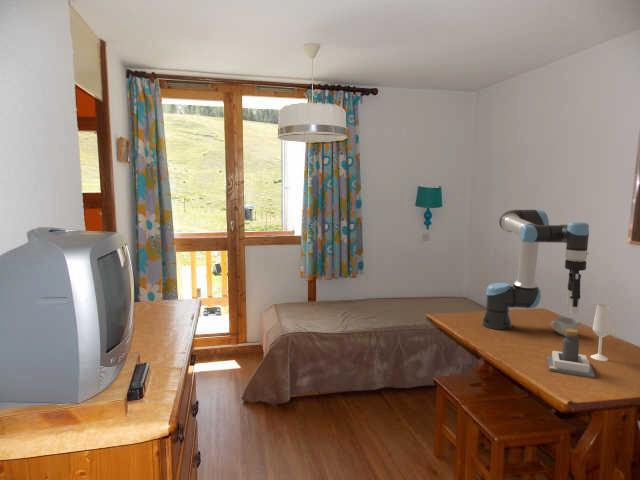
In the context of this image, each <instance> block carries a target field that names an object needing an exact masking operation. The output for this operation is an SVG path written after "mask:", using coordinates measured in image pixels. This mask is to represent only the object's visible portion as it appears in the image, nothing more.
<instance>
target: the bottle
mask: <svg viewBox="0 0 640 480" xmlns="http://www.w3.org/2000/svg"><path fill="white" fill-rule="evenodd" d="M565 330H566V333H565V336H564V338H563V340H562V351H561V352H562V360H563V361H570V362H577V363H578V354H579V352H580V341H579V336H580V335H578V334H579V329H578V330H575V329H565Z"/></svg>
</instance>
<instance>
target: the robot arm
mask: <svg viewBox="0 0 640 480" xmlns="http://www.w3.org/2000/svg"><path fill="white" fill-rule="evenodd" d="M498 222H499V223H498V224H499V226H500V228H501V229H502V230H503V231H505V232H507V233H514V234H515V235H517V236H519V238H520V246H519V257H518V258H519V259H518V266H517V275H516V277H517V278H516V280H514V282H513V286H512V285H510V284H509V283H507V282H496V283H495V282H494V283H491V284H488V286H487V287H486V300H485V301H486V303H485V304H486V305H485V312H484V315H483V316H482V319H481V324H482V326H484V327H486V328H488V329H493V330H494V329H495V330H509V329H512V320H511V316H510V313H509V311H510V309H511V308H514V309H516V308H517V309H534V308H536V307H537V306H538V305H539V304H540V302H541V298H542V297H541V296H542V294H541V288H540V287H538V284H537V283H536V282H535V281H536V271H537V262H538V256H539V255H538V254H539V247H540V246H539V244H540V243H557V244H558V243H561V244H566V246H565V257H564V258H565V261H564V269H566V270H568V271H569V272H568V282H567V299H566V306H569V307H570V311H569V314H570V315H576V316H578V315H579V309H580V299H581V278H582V275H581V273H580V271H586V269H587V257H588V255H589V254H590V252H588V247H589V245H588V244H589V237H590V235H589V234H590V230H589V229H590V225H589V224H588V223H587V222H580V221H579V222H577V221H575V222H574V221H571V222H569V223H568V224H558V225H555V224H554V225H551V224H550V222H549V217H548V214H547V212H546V211H544V210H541V209H511V210H509V211H506V212H504V213H503V214H501V216H500V218H499V221H498Z"/></svg>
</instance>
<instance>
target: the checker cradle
mask: <svg viewBox="0 0 640 480" xmlns="http://www.w3.org/2000/svg"><path fill="white" fill-rule="evenodd" d="M546 358H547V363H548V370H549V372H553V373H554V372H555V373H559V374H561V373H562V374H566V375H573V376H578V377H586V378H591V379H595V378H596V375H595V373H594V370H593V367H592V365H591V363H590V361H589V360H588V358H587V355H586V354H579V353H578V363H577V362H570V361H563V360H562V351H559V350H558V351H557V350H552V353H551V355H547V356H546Z"/></svg>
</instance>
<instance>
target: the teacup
mask: <svg viewBox="0 0 640 480" xmlns="http://www.w3.org/2000/svg"><path fill="white" fill-rule="evenodd" d="M579 324H580V321H579V320H577V319H575V318H572V317H568V316H556V317H555V319H554V320H551V321H550V324H549V325H550V327H551V329H553V330H554V331H556V332H557V333H558V334H559V335H561V336H564V337H565V333H566V330H565V329H575V330H578V331H579Z"/></svg>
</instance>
